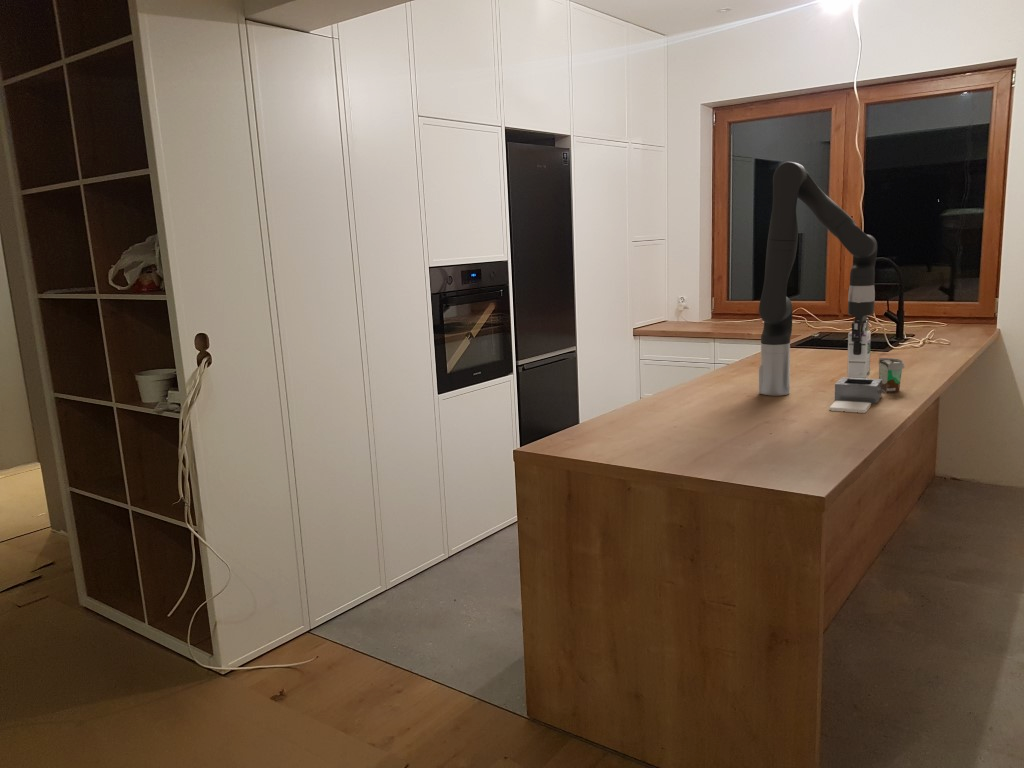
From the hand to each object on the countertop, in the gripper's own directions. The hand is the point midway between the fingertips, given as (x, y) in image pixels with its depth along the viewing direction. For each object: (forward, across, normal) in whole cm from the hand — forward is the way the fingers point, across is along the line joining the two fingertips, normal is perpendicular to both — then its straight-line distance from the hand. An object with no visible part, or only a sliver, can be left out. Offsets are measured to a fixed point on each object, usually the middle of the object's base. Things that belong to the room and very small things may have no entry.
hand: (859, 352), depth 241 cm
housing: (+15, 0, 0) cm, 15 cm away
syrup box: (+8, 0, 0) cm, 8 cm away
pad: (+15, +14, +1) cm, 21 cm away
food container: (+15, -16, +8) cm, 23 cm away
